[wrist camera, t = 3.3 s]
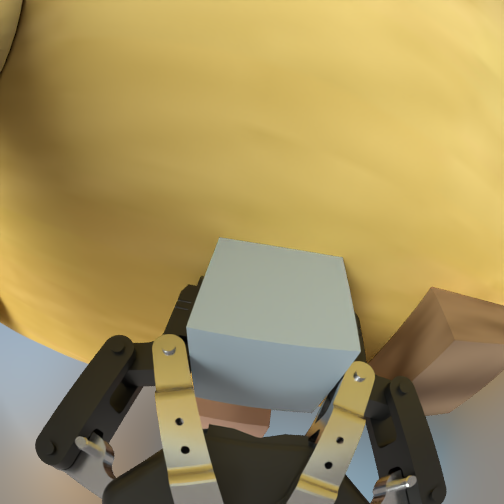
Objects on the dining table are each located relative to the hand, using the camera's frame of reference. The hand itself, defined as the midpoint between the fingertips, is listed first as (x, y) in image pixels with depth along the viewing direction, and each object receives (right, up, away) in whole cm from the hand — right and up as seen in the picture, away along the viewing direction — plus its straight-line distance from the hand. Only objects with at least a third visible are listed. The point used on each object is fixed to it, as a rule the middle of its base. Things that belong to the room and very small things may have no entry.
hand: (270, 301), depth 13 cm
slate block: (0, 0, 0) cm, 1 cm away
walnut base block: (+12, -4, +2) cm, 13 cm away
